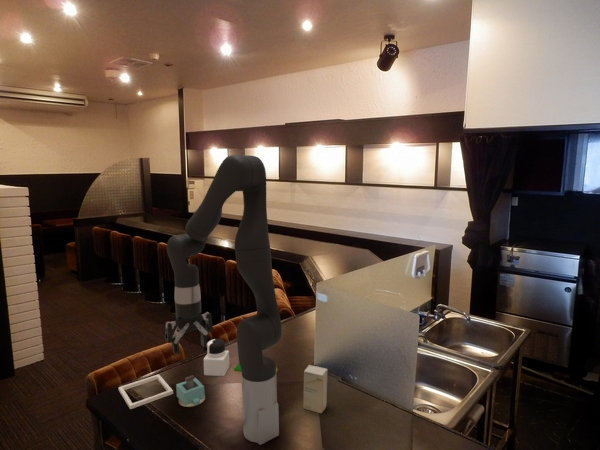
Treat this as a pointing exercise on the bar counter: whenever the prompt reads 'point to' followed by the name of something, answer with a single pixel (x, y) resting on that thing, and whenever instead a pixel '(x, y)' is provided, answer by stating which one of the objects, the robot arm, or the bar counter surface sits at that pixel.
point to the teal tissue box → (190, 393)
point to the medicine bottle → (216, 358)
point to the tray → (147, 400)
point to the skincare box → (315, 388)
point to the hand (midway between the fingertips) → (190, 349)
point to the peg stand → (189, 386)
